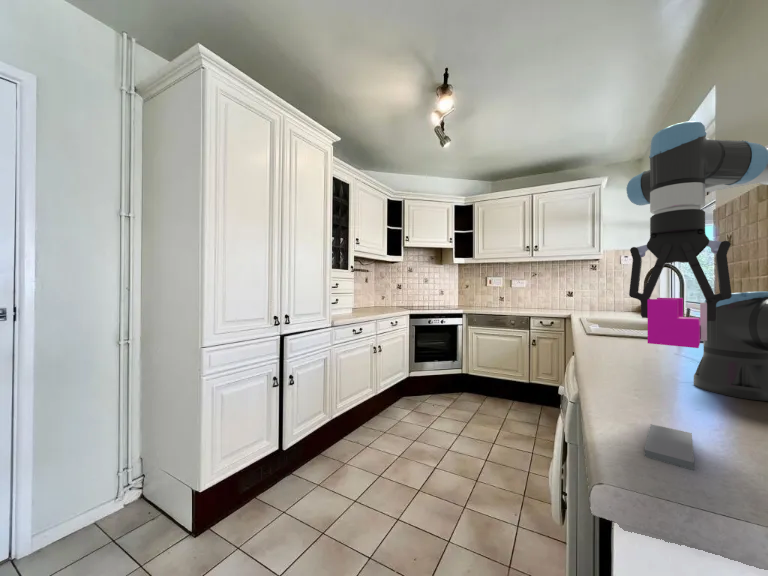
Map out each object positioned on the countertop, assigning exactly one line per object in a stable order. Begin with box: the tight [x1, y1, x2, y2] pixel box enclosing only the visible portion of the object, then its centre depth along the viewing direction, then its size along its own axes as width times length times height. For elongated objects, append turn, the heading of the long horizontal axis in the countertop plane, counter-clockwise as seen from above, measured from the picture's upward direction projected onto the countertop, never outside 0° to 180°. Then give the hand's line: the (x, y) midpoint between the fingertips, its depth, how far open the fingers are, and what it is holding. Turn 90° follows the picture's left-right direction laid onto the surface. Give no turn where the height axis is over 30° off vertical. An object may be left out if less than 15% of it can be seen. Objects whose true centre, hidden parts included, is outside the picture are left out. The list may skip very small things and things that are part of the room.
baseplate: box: [644, 423, 695, 471], centre depth 48 cm, size 12×5×1 cm, turn 137°
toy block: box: [647, 297, 701, 349], centre depth 58 cm, size 15×6×8 cm, turn 134°
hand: (676, 337), depth 60 cm, fingers closed on toy block, 6 cm apart
